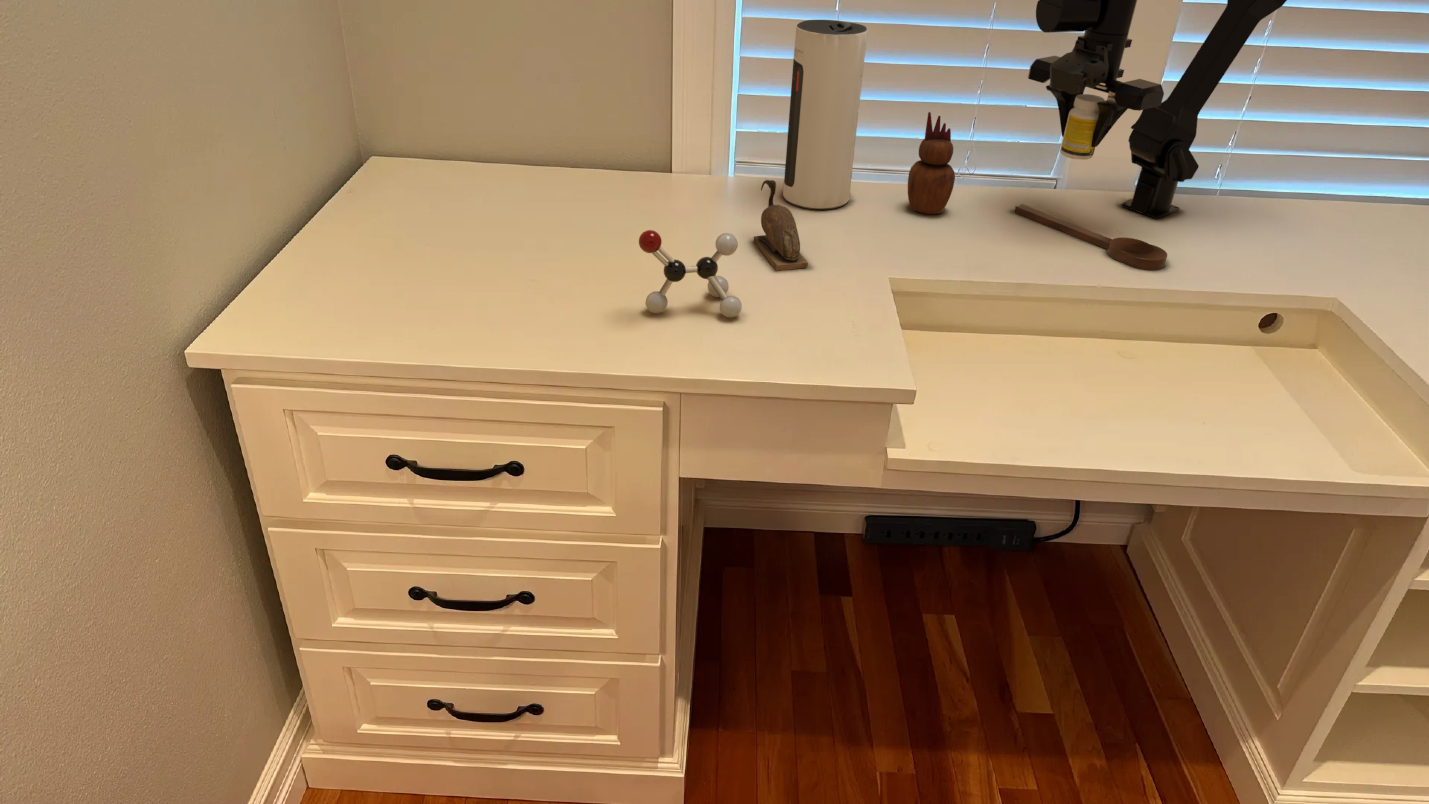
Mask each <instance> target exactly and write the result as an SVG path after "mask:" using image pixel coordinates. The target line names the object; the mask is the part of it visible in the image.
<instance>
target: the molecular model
mask: <svg viewBox="0 0 1429 804" xmlns="http://www.w3.org/2000/svg"><path fill="white" fill-rule="evenodd" d="M662 243H663V240H662V237H661V235H660V234H659V233H658V232H657V231H656V230H652V229H647V230H645V231H643V232H642V233H641V234H640V236H639V239H638V247H639V248H640V249H641V250H642V251H643V252H644V253H646V254H652V255H653V256H654V257H655V258H656V259H657V260H658V261H660V263H661V264H662V265H663V266H664V267H663V275H664V277H665V278H666V279H665V281H664V283H663V285H662V286H661V288H660V290H659V291H652V292H650V293H649V294H648V295H647V296H646V299H645V307H646V308H647V310H648V311H649V312H651V313H652V314H660V313H663V312H664V311H665V310H666V309H667V307H668V303H669V301H668V298H667V296H666V295H667V292H668V291H669V290H670V288H671V286H672V284H673V283H679V282H680V281H682V280H684V278H685V276H686V274H693V273H696V274H697V276H698V277H699V278H701V279H704V280H707V281H708V282H707V291H708V293H709V294H710V295H711V296H712V297H714V298H720V299H721V301H720V302H719V310H720V312H721V314H722V315H723V316H724V317H726V318H729V319H732V318H733V319H734V318H736V317H738V316H739V315H740V314H741V312H742V310H743V305H742V301H741V299H739V298H738V297H737V296H735V295H727V293H728V291H729V289H730V285H729V282H728V280H727V279H726V278H725V277H724V276H722V275H717V274H718V270H719V265H718V263H717V262H718V261H719V260H720V258H721V257H723V256H725V257H726V256H727V257H729V256H731V255H734V254H735V253H736V251H737V250H738V247H739V242H738V239H737V237H736V236H735V235H733V234H732V233H731V232H730V233H729V232H723V233H721V234H720V235H719V236H717V238H716V240H715V243H714V244H715V249H716V251H715V252H714V254H713V255H712V256H711V257H710V256H703V257H701V258H699V260H698V261H697V262H696V264H695V265H687V266H685V264H684V263H683V261H681V260H679V259H674V258H673V257H672V256H671V255H670V254H669V253H668V252H667V251H666V250H665V249H664V248H663V247H662Z"/></svg>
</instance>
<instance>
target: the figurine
mask: <svg viewBox="0 0 1429 804" xmlns="http://www.w3.org/2000/svg"><path fill="white" fill-rule="evenodd" d="M765 185H767V186H768V189H770V190H769V191H770V192H769V193H770V194H769V196H768V197H769V198H768V203H767V204H768V206H767V207H766V208H765V209H764V210H763V211H762V213H761V216H760V224H761V229H762V231H763V232H764V234H763V235H762V234H761V235H754V236H753V243H754V244H755V246H756V247H757V248H758V249H759V251H760V252H761V253H762V254H763V256H764V257H765V258H766V260H767V261H768V262H769V264H770V265H771V266H772V267H773V268H774V270H775V271H785V270H786V271H787V270H795V269H796V270H797V269H804V268H805V269H806V268H808V266H809V262H808V261H807V259H806V258H805V257H804V256H803V255H802V254H801V253H800V251H801V241H800V236H799V232H798V227H797V222H796V220H795V217H794V215H793V213H792V211H791V210H790V209H789V208H788V207H786V206H784V205H780V204H774V197H775V195H776V190H777V182H776V181H775V180H773V179H771V180H770V179H766V180H764V181H763V182H762V184H761V187H760V191H763V188H764V186H765Z"/></svg>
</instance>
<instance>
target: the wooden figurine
mask: <svg viewBox="0 0 1429 804" xmlns="http://www.w3.org/2000/svg"><path fill="white" fill-rule="evenodd" d="M926 119H927V120H926V125H925V132H924V138H923V139H922V140H921V142H920V144H919V147H918V158H919V159H920V160H917V161H915V162H914V164H912V165H911V166H910V169H909V172H908V177H907V199H908V203H909V206H910V207H911V209H912V210H914V211H915V212H917V213H921V214H926V215H935V214H940V213H941V212H943V211H944V209H945V208H946V206H947V205H948V202H949V200H950V198H951V195H952V192H953V189H954V185H955V181H956V172H955V170H954V169H953V167H952V165H950V164H949V163H950V162H951V161H952V158H953V155H954V145H953V143H952V139H951V138H952V132H951V131H952V130H951V129H952V128H950V127H949V128H947V123H946V122H944V123H943V124H942V126H941V115H938V116H937V119H936V122H935V125H934V127H933V121H932V113H931V111H928V112H927V118H926Z"/></svg>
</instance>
